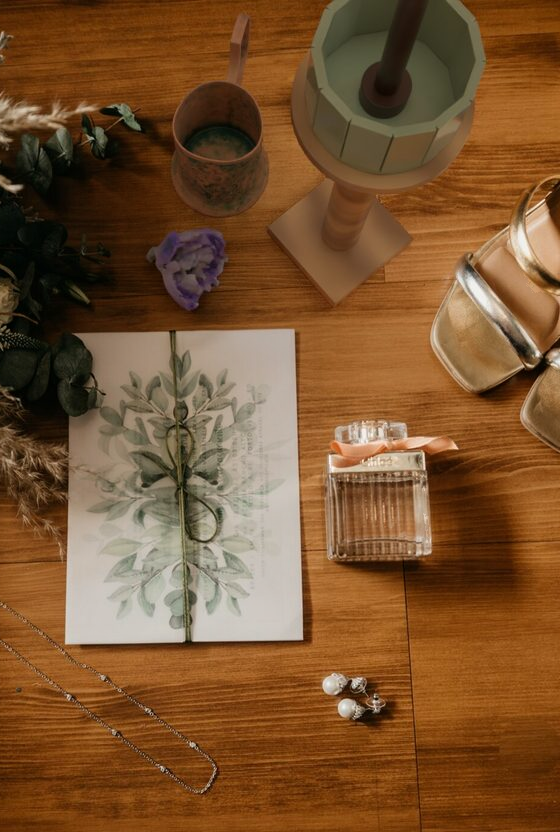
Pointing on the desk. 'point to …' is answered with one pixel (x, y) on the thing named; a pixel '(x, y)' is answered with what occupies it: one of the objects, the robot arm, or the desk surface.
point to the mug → (221, 140)
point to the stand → (348, 209)
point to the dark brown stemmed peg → (393, 64)
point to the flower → (190, 263)
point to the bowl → (430, 72)
